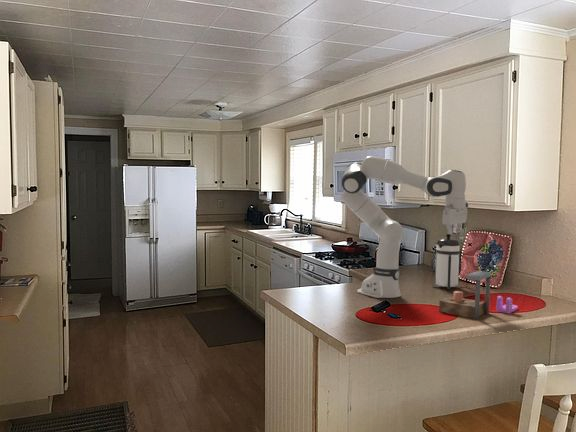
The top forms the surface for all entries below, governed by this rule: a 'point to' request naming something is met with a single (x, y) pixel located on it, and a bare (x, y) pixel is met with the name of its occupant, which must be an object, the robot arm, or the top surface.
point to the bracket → (505, 308)
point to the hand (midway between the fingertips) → (454, 233)
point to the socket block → (460, 307)
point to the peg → (458, 296)
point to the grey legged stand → (479, 276)
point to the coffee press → (447, 262)
